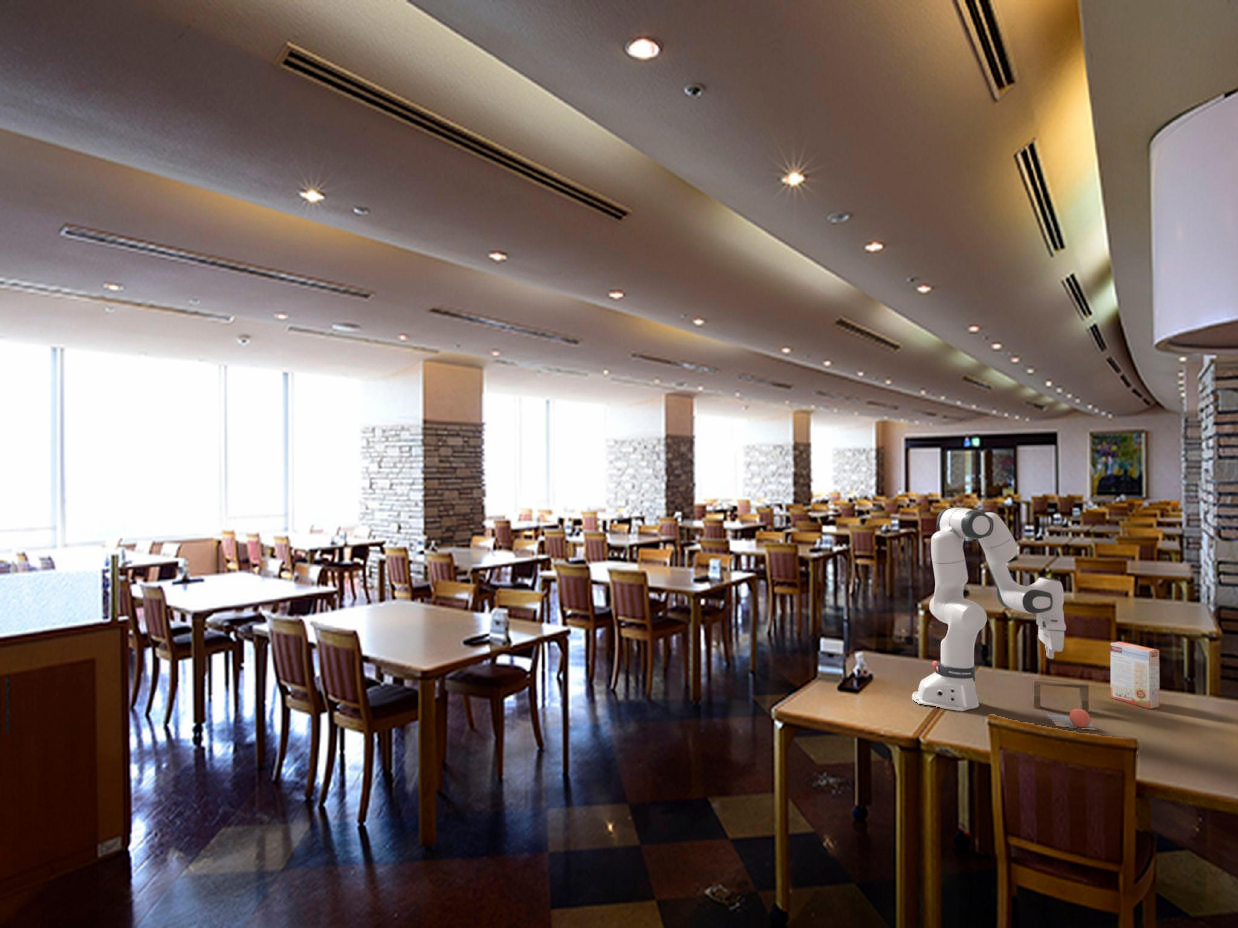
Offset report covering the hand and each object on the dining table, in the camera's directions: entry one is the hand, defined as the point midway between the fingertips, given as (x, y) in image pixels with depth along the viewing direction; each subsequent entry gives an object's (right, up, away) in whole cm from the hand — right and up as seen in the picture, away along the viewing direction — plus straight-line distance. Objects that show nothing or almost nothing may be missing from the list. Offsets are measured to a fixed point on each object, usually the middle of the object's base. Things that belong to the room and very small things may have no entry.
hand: (1050, 657), depth 268 cm
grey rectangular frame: (-4, -15, -12) cm, 20 cm away
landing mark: (-8, -15, -26) cm, 31 cm away
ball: (-8, -12, -30) cm, 33 cm away
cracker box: (+28, -15, -6) cm, 32 cm away
